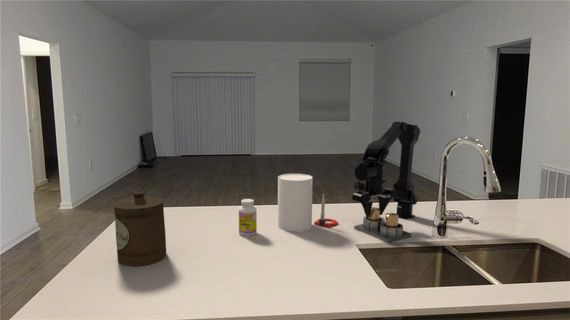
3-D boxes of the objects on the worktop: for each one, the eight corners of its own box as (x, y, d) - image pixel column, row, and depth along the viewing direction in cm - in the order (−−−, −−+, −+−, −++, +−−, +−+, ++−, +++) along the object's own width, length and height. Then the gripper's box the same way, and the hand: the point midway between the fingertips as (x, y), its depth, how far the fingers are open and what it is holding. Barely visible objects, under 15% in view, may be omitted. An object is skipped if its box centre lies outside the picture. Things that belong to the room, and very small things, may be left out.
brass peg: (381, 226, 156) (382, 209, 155) (373, 228, 154) (374, 211, 153) (373, 223, 160) (374, 206, 159) (365, 225, 158) (365, 208, 156)
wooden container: (118, 251, 133) (114, 186, 130) (164, 246, 138) (161, 183, 135) (116, 269, 120) (112, 197, 116) (168, 262, 125) (165, 193, 121)
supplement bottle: (235, 234, 150) (234, 201, 148) (245, 229, 156) (244, 197, 154) (250, 237, 147) (250, 203, 145) (259, 232, 153) (259, 199, 151)
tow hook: (323, 219, 170) (311, 224, 163) (324, 189, 169) (313, 193, 161) (340, 223, 166) (330, 228, 158) (342, 192, 164) (332, 196, 156)
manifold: (354, 228, 157) (354, 208, 156) (376, 223, 164) (377, 204, 163) (388, 242, 142) (389, 220, 141) (411, 236, 149) (412, 215, 148)
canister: (312, 221, 166) (313, 174, 163) (311, 232, 153) (311, 181, 150) (279, 220, 168) (279, 173, 165) (275, 231, 154) (276, 180, 151)
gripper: (377, 171, 165) (376, 207, 168) (343, 175, 155) (342, 214, 158) (398, 175, 156) (396, 214, 159) (363, 181, 146) (361, 222, 149)
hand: (374, 216), depth 156 cm, fingers open, 7 cm apart
